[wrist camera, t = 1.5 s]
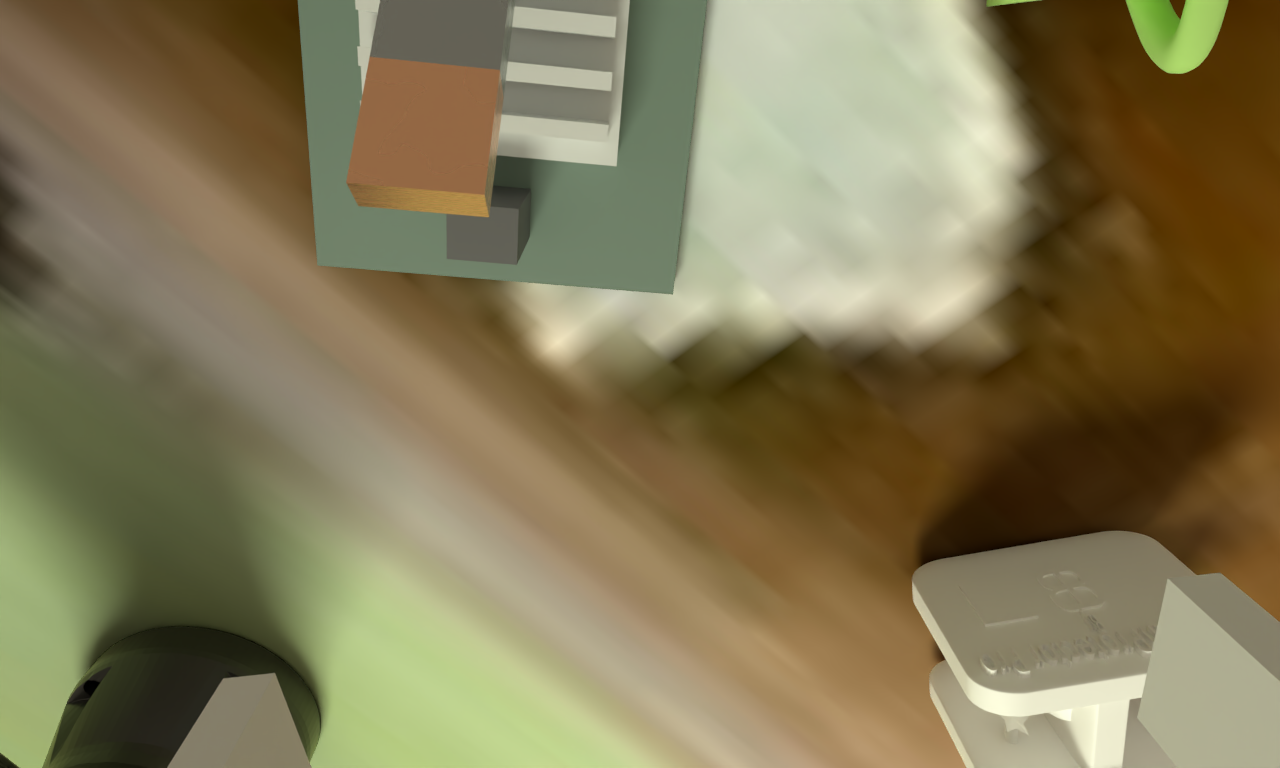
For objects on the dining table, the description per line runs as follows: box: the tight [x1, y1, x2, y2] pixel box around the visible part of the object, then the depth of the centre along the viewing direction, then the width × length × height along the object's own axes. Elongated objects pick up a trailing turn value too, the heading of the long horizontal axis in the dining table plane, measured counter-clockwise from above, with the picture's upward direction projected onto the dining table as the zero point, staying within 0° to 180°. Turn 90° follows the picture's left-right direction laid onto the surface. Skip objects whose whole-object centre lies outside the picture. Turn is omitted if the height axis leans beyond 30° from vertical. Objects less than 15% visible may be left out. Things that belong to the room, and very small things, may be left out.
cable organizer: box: [912, 531, 1196, 768], centre depth 44 cm, size 15×11×12 cm
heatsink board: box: [298, 0, 707, 294], centre depth 31 cm, size 18×24×9 cm
